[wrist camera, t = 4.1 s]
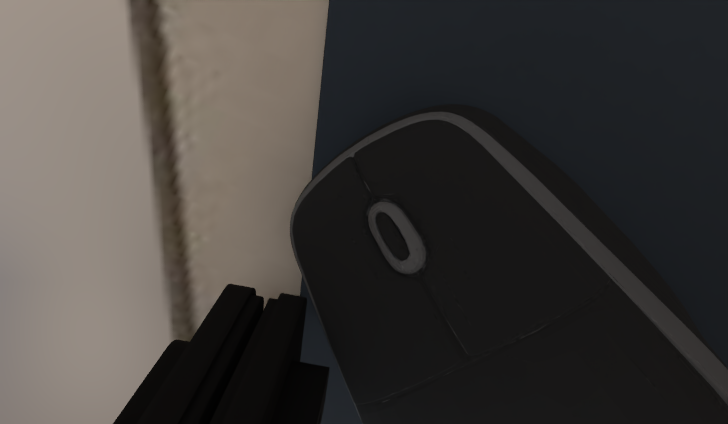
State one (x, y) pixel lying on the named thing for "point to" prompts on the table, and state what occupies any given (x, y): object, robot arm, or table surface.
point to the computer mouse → (490, 287)
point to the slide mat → (557, 117)
